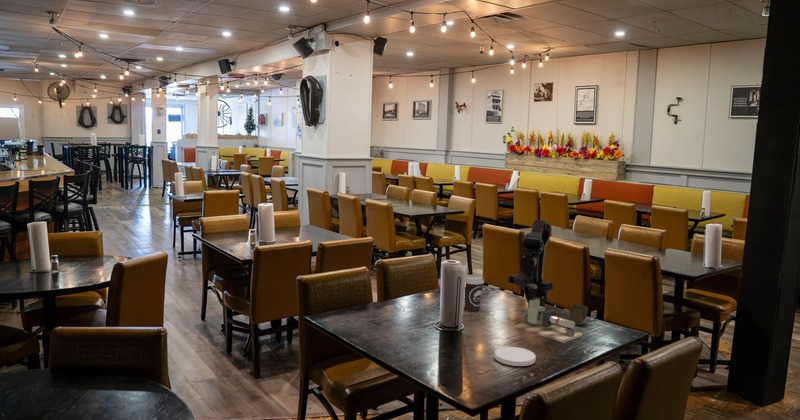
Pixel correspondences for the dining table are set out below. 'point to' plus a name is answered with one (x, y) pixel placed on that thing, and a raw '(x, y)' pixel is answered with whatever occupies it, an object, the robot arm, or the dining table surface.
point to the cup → (578, 313)
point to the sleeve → (534, 311)
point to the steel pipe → (555, 322)
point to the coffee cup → (473, 293)
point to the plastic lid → (514, 356)
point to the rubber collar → (545, 317)
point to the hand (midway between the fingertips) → (528, 302)
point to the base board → (548, 331)
